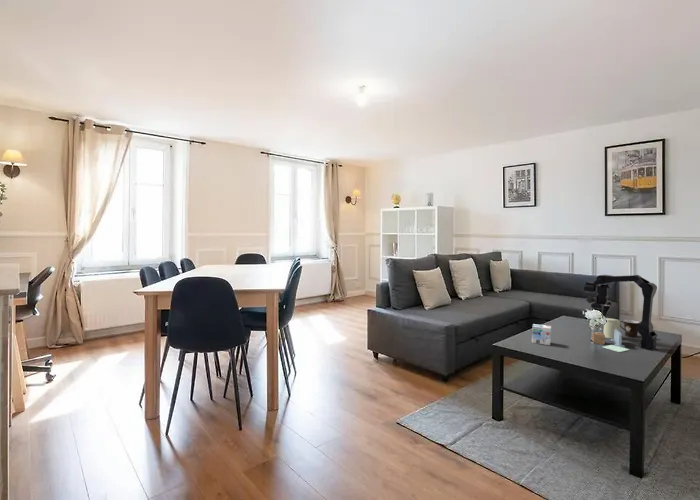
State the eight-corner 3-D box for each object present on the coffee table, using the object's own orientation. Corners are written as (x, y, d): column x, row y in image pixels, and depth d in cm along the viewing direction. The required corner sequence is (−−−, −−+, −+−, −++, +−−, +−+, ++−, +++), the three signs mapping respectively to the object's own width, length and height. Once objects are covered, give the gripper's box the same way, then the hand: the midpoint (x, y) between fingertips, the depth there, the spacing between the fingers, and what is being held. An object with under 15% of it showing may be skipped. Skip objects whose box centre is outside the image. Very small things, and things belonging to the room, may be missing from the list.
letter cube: (591, 340, 247) (592, 331, 246) (602, 342, 244) (603, 332, 244) (593, 343, 241) (593, 333, 241) (604, 344, 239) (605, 335, 238)
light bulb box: (531, 342, 241) (532, 326, 241) (532, 340, 247) (532, 323, 247) (550, 345, 236) (551, 328, 236) (550, 342, 242) (551, 325, 242)
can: (619, 339, 249) (620, 321, 248) (602, 337, 254) (603, 319, 253) (619, 336, 256) (620, 319, 255) (603, 334, 262) (604, 316, 261)
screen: (610, 340, 247) (611, 328, 247) (619, 341, 245) (620, 329, 245) (615, 346, 235) (615, 333, 234) (624, 347, 233) (625, 335, 232)
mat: (629, 350, 229) (629, 349, 228) (619, 352, 224) (619, 351, 224) (612, 345, 238) (612, 344, 238) (602, 347, 233) (602, 346, 233)
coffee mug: (642, 338, 253) (643, 323, 252) (628, 337, 253) (629, 323, 252) (629, 333, 265) (630, 318, 264) (617, 332, 265) (617, 318, 264)
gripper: (595, 290, 263) (594, 313, 264) (582, 293, 252) (581, 316, 253) (613, 293, 254) (612, 316, 255) (601, 296, 243) (600, 320, 244)
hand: (601, 317), depth 252 cm, fingers open, 9 cm apart
